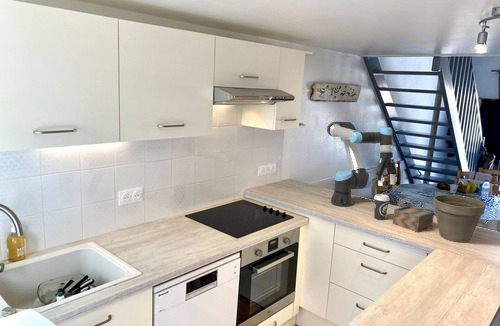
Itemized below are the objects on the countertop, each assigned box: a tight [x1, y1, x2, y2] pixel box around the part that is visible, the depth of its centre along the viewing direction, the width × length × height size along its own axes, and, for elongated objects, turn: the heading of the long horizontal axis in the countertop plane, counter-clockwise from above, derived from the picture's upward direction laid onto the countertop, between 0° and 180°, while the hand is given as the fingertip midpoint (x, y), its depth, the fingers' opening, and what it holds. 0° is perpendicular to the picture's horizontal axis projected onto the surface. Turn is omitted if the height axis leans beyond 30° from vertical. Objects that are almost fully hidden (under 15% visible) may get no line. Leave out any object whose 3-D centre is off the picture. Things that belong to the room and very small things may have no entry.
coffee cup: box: [373, 193, 391, 221], centre depth 227 cm, size 10×10×15 cm
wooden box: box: [392, 205, 435, 233], centre depth 218 cm, size 16×16×9 cm
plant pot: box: [432, 194, 487, 243], centre depth 200 cm, size 25×25×22 cm
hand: (386, 185), depth 230 cm, fingers open, 13 cm apart
